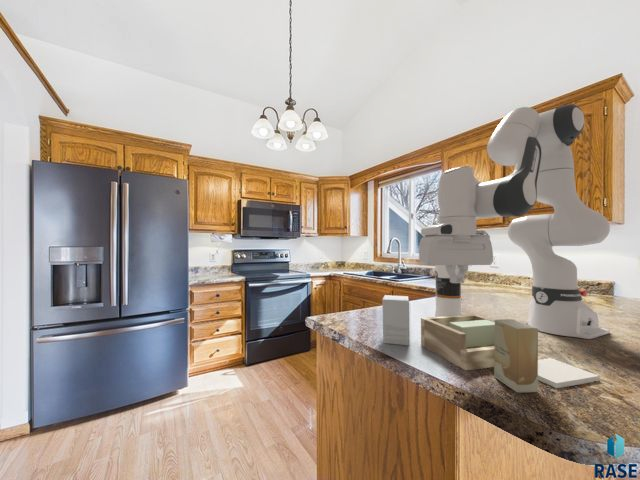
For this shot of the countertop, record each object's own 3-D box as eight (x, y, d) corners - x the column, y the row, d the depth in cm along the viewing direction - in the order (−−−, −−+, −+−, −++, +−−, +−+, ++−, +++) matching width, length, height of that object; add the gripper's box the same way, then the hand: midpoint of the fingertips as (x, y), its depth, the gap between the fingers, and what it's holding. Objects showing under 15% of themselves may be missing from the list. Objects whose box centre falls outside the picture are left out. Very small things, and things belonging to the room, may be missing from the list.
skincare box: (493, 377, 56) (492, 318, 56) (512, 376, 56) (511, 318, 56) (518, 394, 49) (517, 327, 50) (540, 393, 50) (539, 327, 50)
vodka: (465, 332, 86) (464, 239, 87) (434, 328, 89) (433, 239, 90) (461, 324, 94) (460, 240, 95) (433, 321, 98) (433, 240, 99)
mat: (551, 362, 63) (551, 358, 63) (599, 380, 54) (599, 375, 54) (512, 368, 60) (511, 363, 60) (556, 388, 51) (556, 383, 51)
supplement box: (409, 337, 80) (409, 295, 80) (409, 346, 73) (409, 300, 73) (384, 335, 82) (384, 294, 83) (382, 343, 75) (382, 298, 76)
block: (486, 337, 73) (485, 319, 73) (501, 343, 68) (500, 324, 69) (449, 341, 70) (449, 322, 70) (462, 347, 65) (462, 327, 66)
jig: (474, 339, 79) (474, 314, 79) (529, 361, 63) (529, 330, 64) (421, 344, 74) (420, 317, 74) (465, 370, 59) (465, 336, 59)
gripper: (479, 231, 74) (479, 280, 74) (415, 229, 69) (415, 282, 69) (499, 229, 68) (500, 283, 68) (431, 227, 63) (431, 285, 63)
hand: (457, 282), depth 68 cm, fingers closed
